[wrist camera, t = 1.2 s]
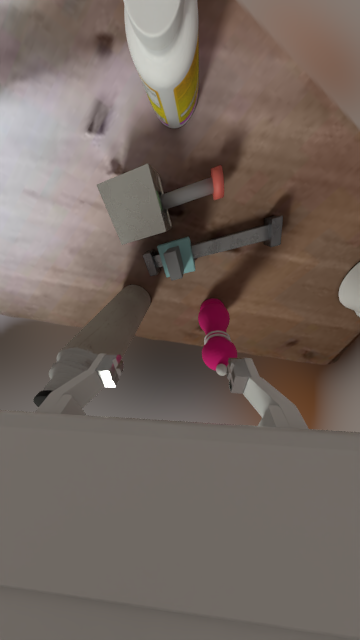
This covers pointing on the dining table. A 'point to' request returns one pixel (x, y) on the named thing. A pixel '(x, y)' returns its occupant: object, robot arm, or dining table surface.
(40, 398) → the thermos bottle
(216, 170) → the plunger
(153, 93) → the supplement bottle
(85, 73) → the dining table surface
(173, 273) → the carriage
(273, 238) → the rail
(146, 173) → the cabinet
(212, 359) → the pepper mill
